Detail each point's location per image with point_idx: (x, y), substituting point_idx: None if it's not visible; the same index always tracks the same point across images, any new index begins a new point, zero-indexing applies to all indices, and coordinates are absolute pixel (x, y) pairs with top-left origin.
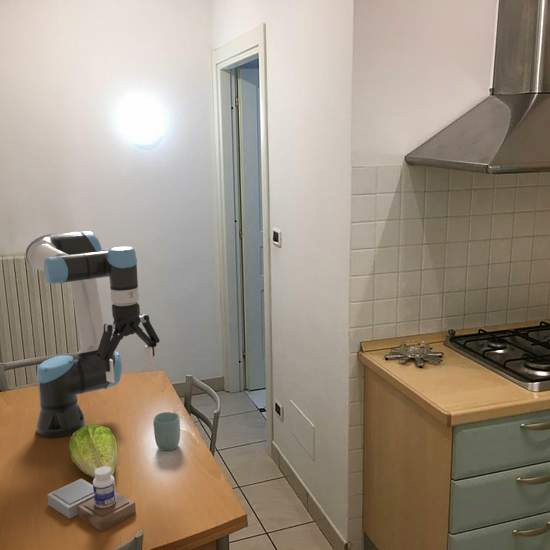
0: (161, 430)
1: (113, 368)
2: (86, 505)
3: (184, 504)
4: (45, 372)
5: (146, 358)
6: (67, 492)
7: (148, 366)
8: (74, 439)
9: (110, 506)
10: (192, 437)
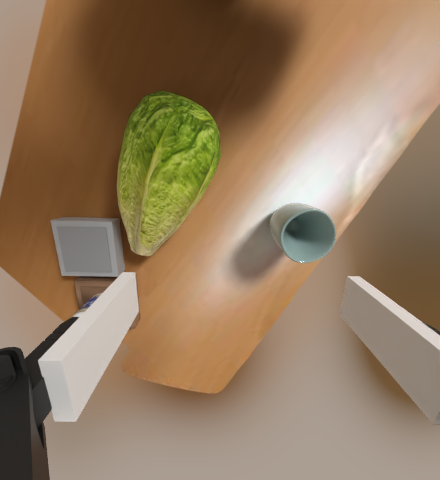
0: (277, 243)
1: (108, 363)
2: (81, 292)
3: (191, 345)
4: None
5: (377, 312)
6: (75, 243)
7: (348, 299)
8: (127, 139)
9: None
10: (336, 226)
